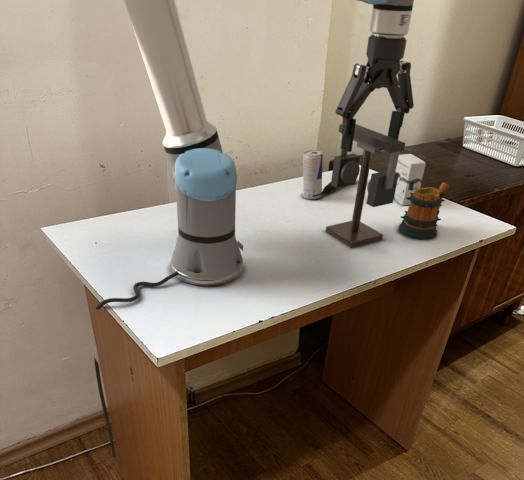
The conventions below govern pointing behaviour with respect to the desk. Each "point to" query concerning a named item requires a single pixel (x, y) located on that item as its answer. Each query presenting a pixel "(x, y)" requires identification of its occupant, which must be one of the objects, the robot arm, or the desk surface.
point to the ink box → (408, 177)
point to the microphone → (328, 189)
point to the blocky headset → (381, 182)
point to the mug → (423, 213)
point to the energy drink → (312, 174)
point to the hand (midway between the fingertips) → (369, 146)
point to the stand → (357, 211)
